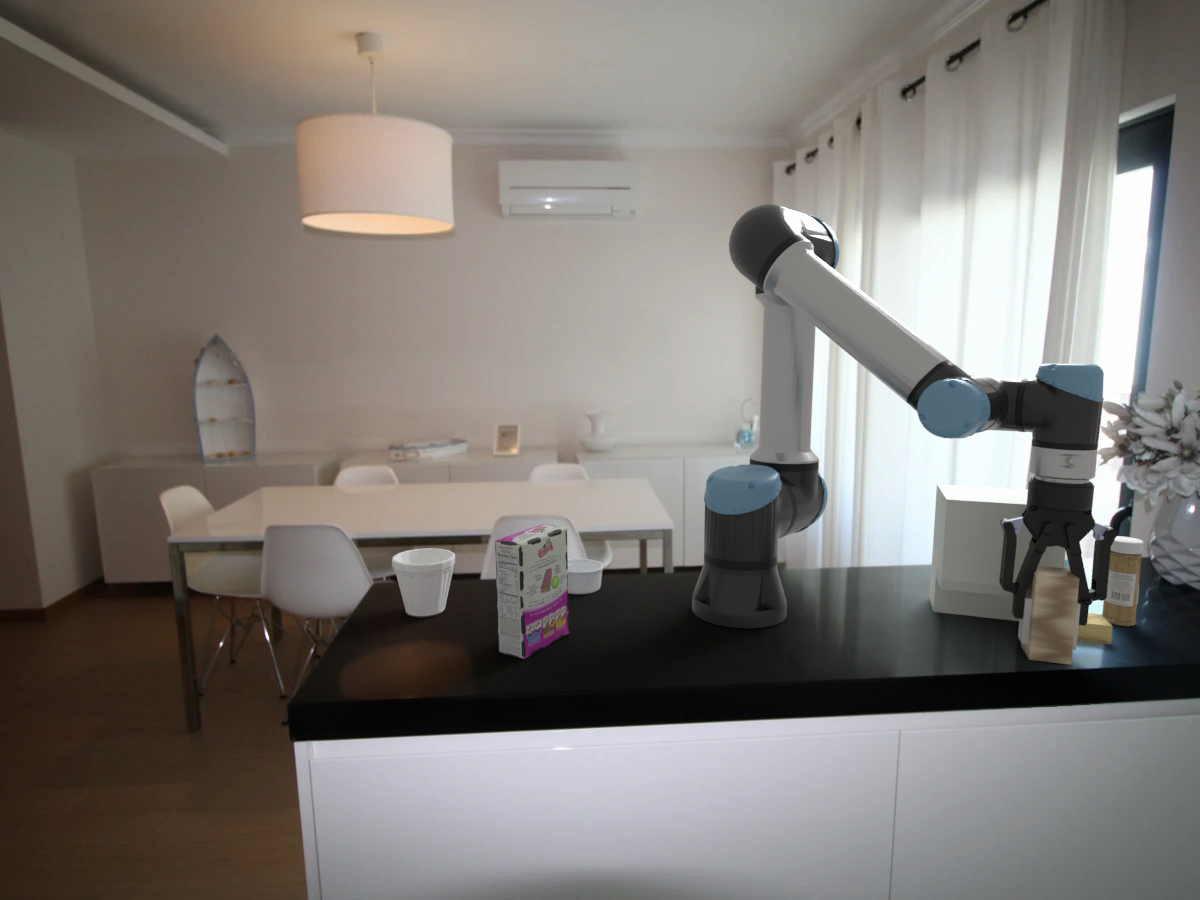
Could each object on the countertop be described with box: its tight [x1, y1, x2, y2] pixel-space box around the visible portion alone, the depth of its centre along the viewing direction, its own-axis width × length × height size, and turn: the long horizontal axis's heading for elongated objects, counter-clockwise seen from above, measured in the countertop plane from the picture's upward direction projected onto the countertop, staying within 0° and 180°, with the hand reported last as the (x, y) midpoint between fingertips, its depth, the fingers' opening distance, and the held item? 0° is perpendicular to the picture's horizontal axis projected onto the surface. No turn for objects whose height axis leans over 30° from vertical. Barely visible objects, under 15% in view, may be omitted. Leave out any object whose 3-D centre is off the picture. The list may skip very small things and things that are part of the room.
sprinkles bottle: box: [1101, 535, 1145, 627], centre depth 113 cm, size 5×5×14 cm
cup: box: [391, 547, 456, 619], centre depth 117 cm, size 10×10×9 cm
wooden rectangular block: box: [1020, 566, 1079, 665], centre depth 105 cm, size 5×15×12 cm, turn 161°
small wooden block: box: [1077, 612, 1114, 645], centre depth 108 cm, size 5×5×3 cm
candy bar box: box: [494, 523, 570, 660], centre depth 104 cm, size 11×5×16 cm, turn 148°
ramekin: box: [567, 558, 605, 595], centre depth 130 cm, size 9×9×4 cm
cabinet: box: [929, 483, 1066, 622], centre depth 114 cm, size 16×14×20 cm
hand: (1046, 643), depth 101 cm, fingers closed on wooden rectangular block, 5 cm apart
